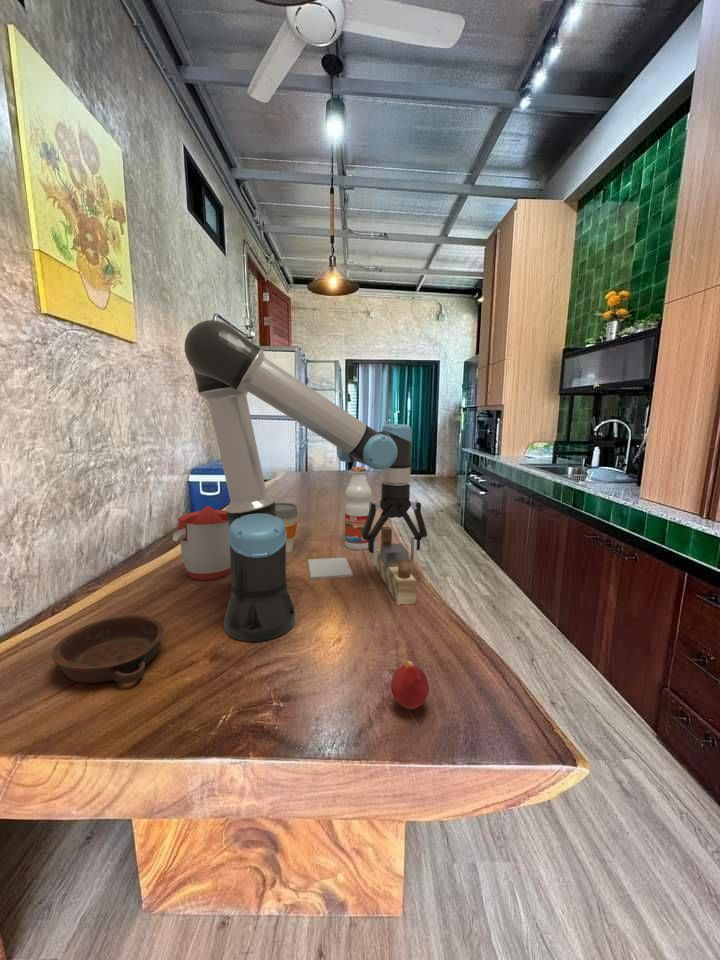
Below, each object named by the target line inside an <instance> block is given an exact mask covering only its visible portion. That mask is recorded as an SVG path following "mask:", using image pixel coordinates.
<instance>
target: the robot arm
mask: <svg viewBox="0 0 720 960" xmlns="http://www.w3.org/2000/svg"><path fill="white" fill-rule="evenodd" d="M184 354H185V358H186V360H187V361H188V364H189V365H190V367H191V368H192V370H193V373H194V378H195V384H196V387H197V391H198V395H199V396H201V397H202V398H203V399H205V400H206V401H207V403H208V408H209V412H210V417H211V420H212V421H211V422H212V426H213V428H214V435H215V438H216V442H217V447H218V451H219V457H220V461H221V464H222V470H223V473H224V478H225V482H226V487H227V490H228V491H227V492H228V496H229V499H230V502H229V504H228V506H227V507H226V509H225V511H226V513H227V517H228V522H229V526H230V529H229V535H228V540H229V543H230V565H231V572H230V584H231V592H230V593H231V594H230V597H229V601H228V603H227V608H226V612H225V615H224V619H223V620H224V621H223V623H224V627H223V628H224V632H225V633H226V634H227V636H229V637H230V638H232V639H235V640H237V641H240V642H250V643H252V642H254V643H255V642H264V641H269V640H273V639H277V638H278V637H281V636H283V635H285V634H286V633H288V632H290V630H291V629H292V628H293V627H294V626H295V624H296V609H295V607H294V603H293V600H292V598H291V596H290V593H289V591H288V585H287V583H288V581H287V580H288V579H287V553H286V538H287V533H286V529H285V524H284V522H283V521H282V519H280V518H279V517H278V515H277V510H276V506H275V503H276V501H275V498H273V497H272V496H270V495H269V494H267V489H266V485H265V484H266V483H265V480H264V475H263V470H262V469H263V468H262V466H261V465H262V464H261V460H260V455H259V451H258V445H257V441H256V437H255V436H256V435H255V431H254V427H253V423H252V417H251V412H250V407H249V403H248V399H247V398H248V397H247V395H248V393H249V394H251V395H253V396H255V397H256V398H258V399H259V400H261V401H263V402H265V403H266V404H267V405H269V406H271V407H272V408H273V409H275V410H277V411H278V412H279V413H282V414H284V415H285V416H287V417H288V418H290V419H292V420H293V421H295V422H297V423H298V424H300V425H302V426H303V427H304V428H306V429H308V430H309V431H311V432H313V433H315V434H316V435H318V436H319V437H321V438H322V439H324V440H326V441H327V442H329V443H330V444H332V445H334V446H335V447H336V456H337V458H338V460H339V461H340V462H346V463H347V462H348V463H352V462H353V463H355V462H357V463H359V464H362V465H365V466H367V467H369V468H371V470H381V481H382V482H383V483H381V496H380V497H381V499H380V501H379V502H373V501H370V504H369V509H370V511H369V514H368V517H367V520H366V523H365V526H364V529H363V532H362V537H363V539H364V540H368V549H367V550H368V552H369V553H370V554H371V564H372V566H375V565H376V560H377V547H378V546H377V544H378V542H377V540H376V538H377V537H378V535H379V533H380V531H381V528H382V527H384V526H385V523H386V522H387V521H388V519H394V518H398V519H399V518H400V519H401V518H402V519H404V522H405V523H406V525H407V526H408V528H409V530H410V531H411V533H412V535H413V536H412V537H411V538H410V539H411V540H410V561H411V563H413V564H417V553H418V552H417V551H420V549H421V540H422V539H423V538H426V537H428V531H427V529H426V525H425V524H426V523H425V522H424V518H423V515H422V514H423V513H422V503H421V502H419V501H418V500H415V501H411V499H410V498H411V496H410V495H411V485H410V482H411V457H412V443H413V441H412V439H413V438H412V428H411V426H410V425H409V424H404V423H402V424H401V423H399V424H398V423H396V424H395V423H393V424H392V423H391V424H390V423H386V424H383V425H382V430H381V431H376V430H375V429H373V428H372V427H370V426H369V425H368V424H366V423H364V422H363V421H361V420H360V419H358V418H357V417H355V416H353V415H352V414H351V413H349V412H348V411H346V410H345V409H343V408H342V407H340V406H339V405H337V404H336V403H334V402H333V401H331V400H330V399H328V398H327V397H325V396H324V395H322V394H320V393H319V392H317V391H316V390H315V389H313V388H311V387H310V386H308V385H307V384H305V383H304V382H302V381H301V380H299V379H298V378H296V377H295V376H293V375H292V374H290V373H289V372H287V371H286V370H284V369H283V368H281V367H280V366H278V365H277V364H275V363H274V362H272V361H271V360H269V359H268V358H266V357H265V353H264V350H263V349H262V348H261V347H259V346H258V345H256V344H254V343H253V342H252V341H250V340H249V339H248V338H246V337H245V336H244V335H243V334H241V333H240V332H239V331H237V330H236V329H235V328H234V327H232V326H231V325H229V324H227V323H226V322H223V321H220V320H215V319H213V320H212V319H211V320H207V319H206V320H204V321H203V320H202V321H200V322H198V323H196V324H195V325H194V326H193V327H191V328H190V330H189V331H188V332H187V335H186V336H185V340H184ZM379 508H380V509H381V510H382V511H381V514H380V516H379V517H378V520H377V521H376V522H375V524H374V526H373V522H374V520H375V516H376V512H378V510H379ZM410 508H411V509H412V510H413V512H414V516H415V519H416V522H417V527H418V530H419V531H418V530H417V528H416V526H415V524H414V523H413V520H412V519H411V517H410V515H409V514H408V511H409V509H410ZM371 526H373V528H372V531H371V532H370V529H371ZM369 532H370V534H369Z"/></svg>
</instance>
